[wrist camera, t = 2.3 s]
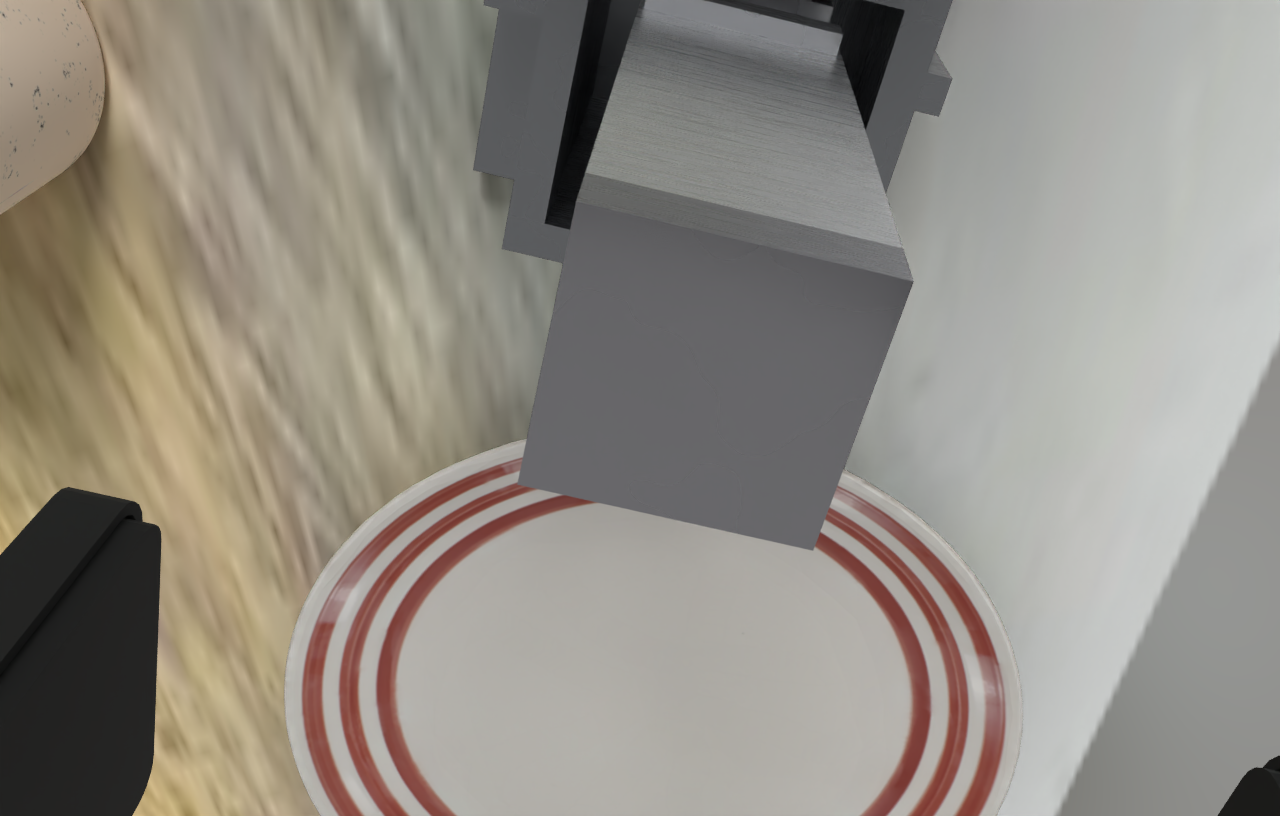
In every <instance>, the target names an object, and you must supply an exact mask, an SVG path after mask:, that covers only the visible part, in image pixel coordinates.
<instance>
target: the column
mask: <svg viewBox="0 0 1280 816" xmlns="http://www.w3.org/2000/svg"><path fill="white" fill-rule="evenodd" d="M833 8H834V7H833V4H832V1H831V0H641V1H640V5H639V8H638V11H637V14H636V17H635V20H634V23H633V26H632V29H631V33H630V36H629V39H628V42H627V45H626V48H625V51H624V54H623V57H622V60H621V64H620V67H619V70H618V73H617V76H616V79H615V82H614V85H613V88H612V92H611V95H610V98H609V101H608V104H607V107H606V110H605V113H604V116H603V119H602V123H601V126H600V129H599V132H598V135H597V138H596V141H595V144H594V147H593V151H592V154H591V157H590V160H589V163H588V166H587V169H586V172H585V175H584V178H583V182H582V185H581V188H580V191H579V194H578V197H577V200H576V204H575V209H574V214H573V219H572V224H571V228H570V233H569V238H568V243H567V248H566V252H565V257H564V262H563V267H562V272H561V276H560V281H559V286H558V291H557V296H556V300H555V305H554V310H553V315H552V320H551V324H550V329H549V334H548V339H547V344H546V348H545V353H544V358H543V363H542V368H541V373H540V377H539V382H538V387H537V392H536V397H535V401H534V406H533V411H532V416H531V421H530V425H529V430H528V435H527V440H526V445H525V449H524V454H523V459H522V464H521V469H520V473H519V478H518V483H517V485H521V486H526V487H530V488H535V489H539V490H544V491H548V492H553V493H557V494H562V495H566V496H571V497H575V498H579V499H584V500H588V501H593V502H597V503H602V504H606V505H611V506H615V507H620V508H624V509H629V510H633V511H638V512H642V513H646V514H651V515H655V516H660V517H664V518H669V519H673V520H678V521H682V522H687V523H691V524H696V525H700V526H705V527H709V528H714V529H718V530H722V531H727V532H731V533H736V534H740V535H745V536H749V537H754V538H758V539H763V540H767V541H772V542H776V543H781V544H785V545H789V546H794V547H798V548H803V549H807V550H812V551H813V550H814V547H815V545H816V542H817V539H818V537H819V534H820V531H821V528H822V526H823V523H824V520H825V518H826V515H827V512H828V510H829V507H830V504H831V502H832V499H833V496H834V494H835V491H836V488H837V486H838V483H839V480H840V478H841V475H842V472H843V469H844V467H845V464H846V461H847V459H848V456H849V453H850V451H851V448H852V445H853V443H854V440H855V437H856V435H857V432H858V429H859V427H860V424H861V421H862V419H863V416H864V413H865V410H866V408H867V405H868V402H869V400H870V397H871V394H872V392H873V389H874V386H875V384H876V381H877V378H878V376H879V373H880V370H881V368H882V365H883V362H884V360H885V357H886V354H887V351H888V349H889V346H890V343H891V341H892V338H893V335H894V333H895V330H896V327H897V325H898V322H899V319H900V317H901V314H902V311H903V309H904V306H905V303H906V301H907V298H908V295H909V292H910V290H911V287H912V284H913V282H914V281H913V278H912V275H911V272H910V269H909V265H908V262H907V259H906V256H905V253H904V250H903V247H902V243H901V240H900V237H899V234H898V231H897V228H896V225H895V222H894V218H893V215H892V212H891V209H890V206H889V203H888V200H887V197H886V193H885V190H884V187H883V184H882V181H881V178H880V175H879V171H878V168H877V165H876V162H875V159H874V156H873V153H872V150H871V146H870V143H869V140H868V137H867V134H866V131H865V128H864V125H863V121H862V118H861V115H860V112H859V109H858V106H857V103H856V100H855V96H854V93H853V90H852V87H851V84H850V81H849V78H848V74H847V71H846V68H845V65H844V62H843V59H842V56H841V53H840V49H839V47H840V43H841V40H842V37H843V33H842V30H841V27H840V25H836V24H832V23H831V21H830V18H831V14H832V11H833Z"/></svg>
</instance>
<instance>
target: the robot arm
mask: <svg viewBox="0 0 1280 816" xmlns="http://www.w3.org/2000/svg"><path fill="white" fill-rule="evenodd" d="M160 563H161V531H160V528H159V527H158V526H157V525H155V524H150V523H145V522H143V521H142V511H141V508H140V506H139V504H137V503H136V502H134V501H129V500H125V499H120V498H116V497H111V496H107V495H102V494H98V493H93V492H89V491H84V490H79V489H75V488H70V487H67V488H64V489H61V490H60V491H59V492H57V493H56V494H55V495H54V496H53V497H52V498H51V499H50V500H49V501H48V503H47V504H46V505H45V506H44V507H43V508H42V509H41V510H40V511H39V513H38V514H37V515H36V516H35V517H34V518H33V519H32V520H31V521H30V523H29V524H28V525H27V526H26V527H25V528H24V529H23V530H22V531H21V533H20V534H19V535H18V536H17V537H16V538H15V539H14V540H13V541H12V543H11V544H10V545H9V546H8V547H7V548H6V549H5V550H4V551H3V553H2V554H1V555H0V816H132V815H133V813H134V811H135V810H136V808H137V806H138V804H139V802H140V800H141V798H142V796H143V794H144V791H145V789H146V786H147V783H148V780H149V777H150V773H151V769H152V764H153V756H154V732H155V704H156V676H157V648H158V620H159V592H160ZM1218 816H1280V756H1277V757H1275V758H1273V759H1271V760H1269V761H1268V762H1267V764H1266V765H1265V766H1264V767H1263V768H1254V769H1252V770H1250V771H1248V772H1247V773H1246V775H1245V776H1244V777H1243V778H1242V780H1241V781H1240V783H1239V784H1238V786H1237V787H1236V789H1235V790H1234V792H1233V793H1232V795H1231V796H1230V798H1229V799H1228V801H1227V802H1226V804H1225V805H1224V807H1223V808H1222V810H1221V811H1220V813H1219V814H1218Z"/></svg>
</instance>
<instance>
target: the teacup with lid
mask: <svg viewBox="0 0 1280 816" xmlns="http://www.w3.org/2000/svg"><path fill="white" fill-rule="evenodd" d="M104 96H105V74H104V64H103V58H102V53H101V49H100V45H99V41H98V38H97V35H96V32H95V29H94V27H93V24H92V22H91V20H90V17H89V15H88V13H87V11H86V9H85V7H84V5H83V3H82V2H81V0H0V215H1V214H2V213H4V212H5V211H7V210H8V209H10V208H11V207H13V206H14V205H15V204H17V203H18V202H20V201H21V200H23V199H24V198H26V197H27V196H29V195H30V194H32V193H33V192H35V191H36V190H38V189H39V188H40V187H42V186H43V185H45V184H46V183H48V182H49V181H51V180H52V179H54V178H55V177H57V176H58V175H60V174H61V173H62V172H64V171H65V170H67V169H68V168H69V167H70V166H71V165H72V164H73V163H75V161H76V160H77V159H78V158H79V157H80V156H81V155H82V154H83V152H84V151H85V150H86V148H87V147H88V145H89V144H90V142H91V140H92V138H93V136H94V134H95V132H96V130H97V127H98V124H99V122H100V118H101V114H102V110H103V103H104Z"/></svg>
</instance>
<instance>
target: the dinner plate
mask: <svg viewBox="0 0 1280 816" xmlns="http://www.w3.org/2000/svg"><path fill="white" fill-rule="evenodd" d="M526 440H527V439H523V440H519V441H515V442H512V443H508V444H505V445H502V446H499V447H496V448H494V449H491V450H488V451H485V452H482V453H479V454H477V455H474V456H472V457H469V458H467V459H465V460H462V461H460V462H457V463H455V464H453V465H451V466H448V467H446V468H444V469H442V470H440V471H438V472H436V473H434V474H432V475H430V476H429V477H427V478H426V479H424V480H422V481H420V482H418V483H416V484H414V485H413V486H411V487H409V488H408V489H406V490H405V491H403V492H402V493H400V494H399V495H397V496H396V497H395V498H393V499H392V500H391V501H389V502H388V503H387V504H386V505H384V506H383V507H382V508H381V509H379V510H378V511H377V512H376V513H374V514H373V515H372V516H371V517H369V518H368V519H367V520H366V521H364V522H363V523H362V524H361V525H360V527H359V528H358V529H357V530H356V531H355V532H354V533H353V534H352V535H351V536H350V537H349V538H348V539H347V540H346V541H345V542H344V543H343V544H342V545H341V547H340V548H339V549H338V550H337V551H336V553H335V554H334V555H333V556H332V558H331V559H330V560H329V562H328V563H327V564H326V566H325V567H324V569H323V570H322V572H321V574H320V575H319V577H318V579H317V580H316V582H315V584H314V586H313V587H312V589H311V591H310V593H309V594H308V596H307V598H306V600H305V603H304V605H303V607H302V609H301V612H300V614H299V617H298V620H297V622H296V625H295V628H294V631H293V634H292V638H291V642H290V646H289V651H288V656H287V661H286V670H285V687H284V702H285V717H286V725H287V732H288V737H289V742H290V746H291V749H292V753H293V756H294V759H295V762H296V766H297V769H298V771H299V774H300V776H301V779H302V781H303V784H304V786H305V788H306V790H307V792H308V795H309V797H310V799H311V801H312V802H313V804H314V806H315V807H316V809H317V811H318V812H319V814H320V815H321V816H997V814H998V811H999V809H1000V807H1001V805H1002V803H1003V801H1004V799H1005V797H1006V795H1007V792H1008V789H1009V786H1010V784H1011V781H1012V778H1013V775H1014V771H1015V768H1016V764H1017V760H1018V757H1019V752H1020V744H1021V737H1022V727H1023V703H1022V690H1021V685H1020V678H1019V672H1018V668H1017V664H1016V660H1015V656H1014V652H1013V649H1012V645H1011V643H1010V640H1009V638H1008V635H1007V633H1006V630H1005V628H1004V625H1003V623H1002V621H1001V618H1000V616H999V614H998V613H997V611H996V609H995V607H994V605H993V603H992V601H991V599H990V597H989V595H988V594H987V592H986V591H985V589H984V588H983V586H982V585H981V583H980V581H979V580H978V578H977V577H976V576H975V575H974V573H973V572H972V571H971V569H970V568H969V567H968V566H967V564H966V563H965V562H964V561H963V559H962V558H961V557H960V556H959V555H958V554H957V552H956V551H955V550H954V549H953V548H952V547H951V546H950V545H949V544H948V543H947V542H946V541H945V540H944V539H943V538H942V537H941V536H940V535H939V534H938V533H937V532H936V531H935V530H934V529H932V528H931V527H930V526H929V525H928V524H927V523H926V522H924V521H923V520H922V519H921V518H920V517H919V516H918V515H916V514H915V513H914V512H912V511H911V510H909V509H908V508H907V507H905V506H904V505H903V504H901V503H900V502H898V501H897V500H896V499H894V498H893V497H891V496H889V495H888V494H887V493H885V492H883V491H881V490H880V489H878V488H877V487H875V486H873V485H872V484H870V483H869V482H867V481H865V480H863V479H862V478H860V477H858V476H856V475H854V474H852V473H850V472H848V471H846V470H844V469H843V472H842V475H841V478H840V480H839V483H838V486H837V488H836V491H835V494H834V496H833V499H832V502H831V504H830V507H829V510H828V512H827V515H826V518H825V520H824V523H823V526H822V528H821V531H820V534H819V537H818V539H817V542H816V545H815V547H814V550H813V551H812V550H807V549H803V548H798V547H794V546H789V545H785V544H781V543H776V542H772V541H767V540H763V539H758V538H754V537H749V536H745V535H740V534H736V533H731V532H727V531H722V530H718V529H714V528H709V527H705V526H700V525H696V524H691V523H687V522H682V521H678V520H673V519H669V518H664V517H660V516H655V515H651V514H646V513H642V512H638V511H633V510H629V509H624V508H620V507H615V506H611V505H606V504H602V503H597V502H593V501H588V500H584V499H579V498H575V497H571V496H566V495H562V494H557V493H553V492H548V491H544V490H539V489H535V488H530V487H526V486H521V485H517V483H518V478H519V473H520V469H521V464H522V459H523V454H524V449H525V445H526Z"/></svg>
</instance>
